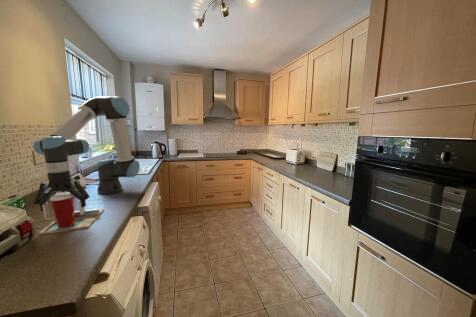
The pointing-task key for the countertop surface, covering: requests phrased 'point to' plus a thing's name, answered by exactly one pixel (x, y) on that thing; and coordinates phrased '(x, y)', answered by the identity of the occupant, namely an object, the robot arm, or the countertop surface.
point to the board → (79, 224)
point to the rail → (86, 213)
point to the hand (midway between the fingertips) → (65, 215)
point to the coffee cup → (63, 209)
